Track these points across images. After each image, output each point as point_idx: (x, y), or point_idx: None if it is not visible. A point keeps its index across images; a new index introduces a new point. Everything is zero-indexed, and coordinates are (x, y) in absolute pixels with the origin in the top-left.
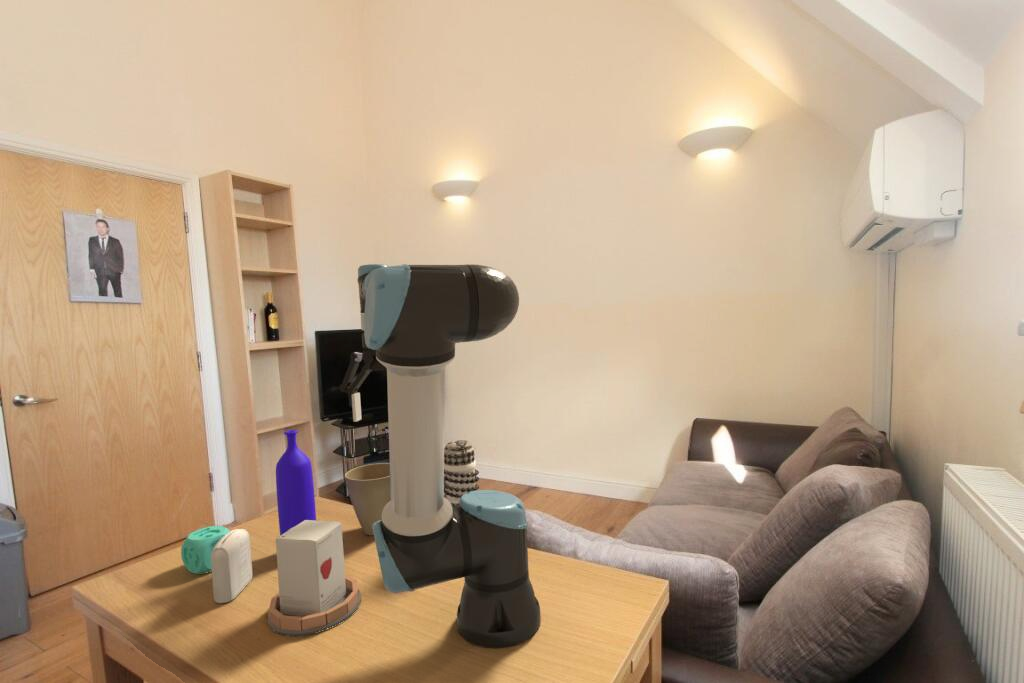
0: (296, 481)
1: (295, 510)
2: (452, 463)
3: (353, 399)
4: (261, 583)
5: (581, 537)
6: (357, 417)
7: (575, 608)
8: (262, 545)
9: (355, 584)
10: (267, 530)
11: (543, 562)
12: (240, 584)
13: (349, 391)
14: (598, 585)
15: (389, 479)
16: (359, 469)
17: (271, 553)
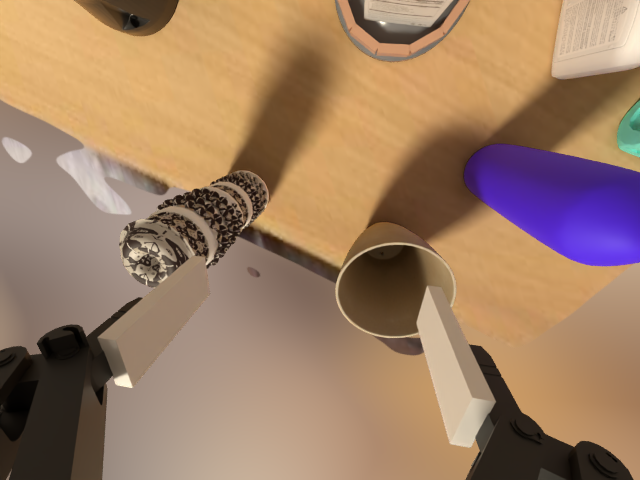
0: (567, 172)
1: (530, 156)
2: (172, 215)
3: (469, 369)
4: (528, 61)
5: (109, 206)
6: (427, 305)
7: (52, 15)
8: None
9: (346, 14)
10: None
11: (130, 139)
12: (567, 17)
13: (523, 427)
14: (48, 78)
15: (350, 257)
16: None
17: None
